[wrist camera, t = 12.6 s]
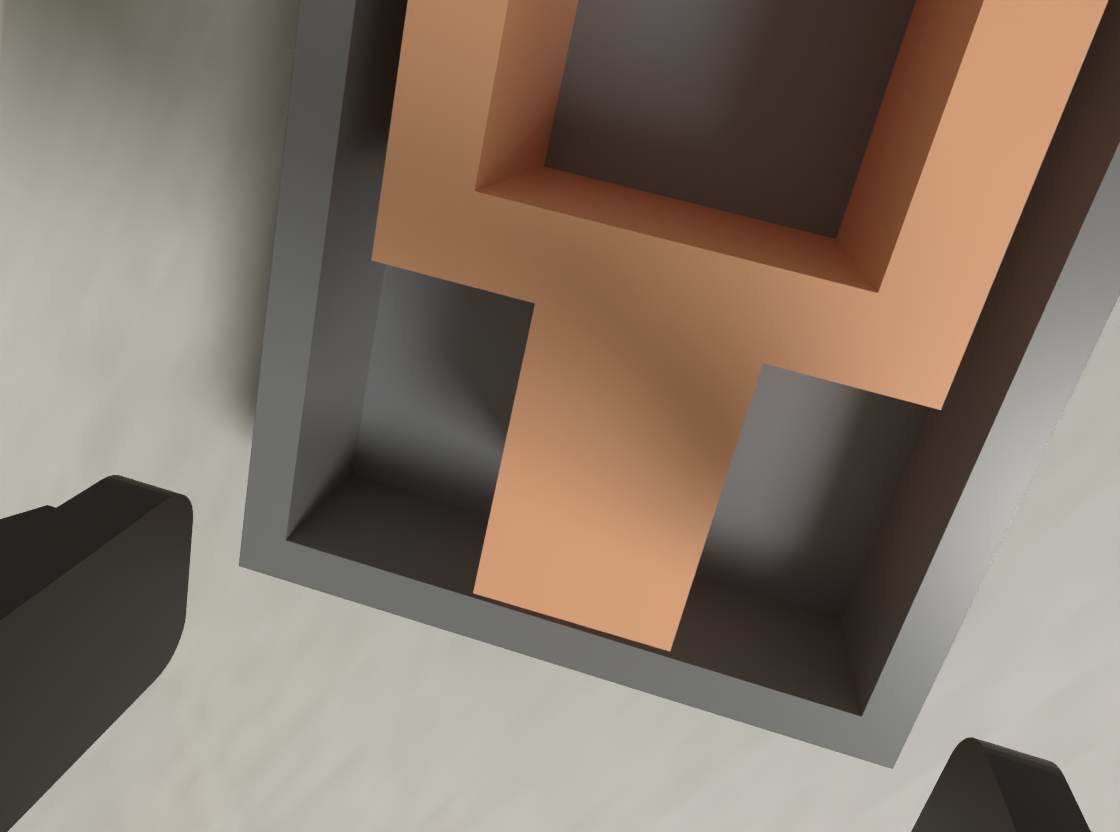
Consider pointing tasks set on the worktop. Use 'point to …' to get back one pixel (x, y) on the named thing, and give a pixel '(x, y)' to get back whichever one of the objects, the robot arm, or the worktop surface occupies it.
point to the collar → (698, 278)
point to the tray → (779, 396)
